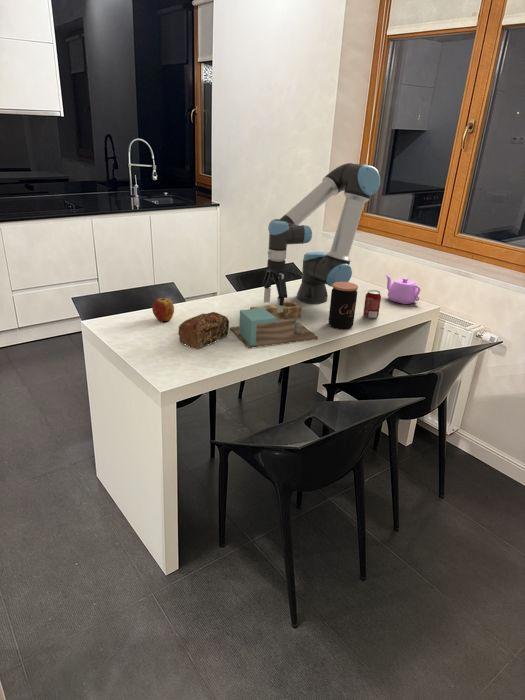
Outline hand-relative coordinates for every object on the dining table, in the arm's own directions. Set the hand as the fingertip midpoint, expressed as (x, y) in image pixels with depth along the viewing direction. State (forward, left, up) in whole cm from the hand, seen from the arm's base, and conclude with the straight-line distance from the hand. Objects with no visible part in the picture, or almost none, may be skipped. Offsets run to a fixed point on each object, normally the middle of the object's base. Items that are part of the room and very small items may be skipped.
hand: (273, 307), depth 216 cm
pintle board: (+18, -8, -5) cm, 20 cm away
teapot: (-3, +72, -5) cm, 72 cm away
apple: (-10, -46, -5) cm, 47 cm away
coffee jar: (+18, +24, -5) cm, 30 cm away
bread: (+15, -36, -5) cm, 39 cm away
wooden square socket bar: (0, +1, -5) cm, 5 cm away
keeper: (+22, -17, -5) cm, 28 cm away
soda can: (+13, +43, -5) cm, 45 cm away
